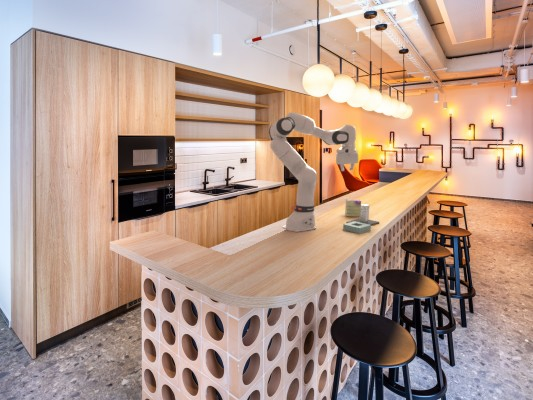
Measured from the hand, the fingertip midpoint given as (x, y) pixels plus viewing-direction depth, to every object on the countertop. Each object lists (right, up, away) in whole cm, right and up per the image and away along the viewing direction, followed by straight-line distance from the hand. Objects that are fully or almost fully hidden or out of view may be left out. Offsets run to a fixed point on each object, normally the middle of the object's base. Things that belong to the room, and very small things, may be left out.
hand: (347, 170), depth 223 cm
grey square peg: (+11, -35, -1) cm, 37 cm away
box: (+10, -32, +23) cm, 40 cm away
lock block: (+2, -39, -16) cm, 42 cm away
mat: (+11, -36, 0) cm, 37 cm away
